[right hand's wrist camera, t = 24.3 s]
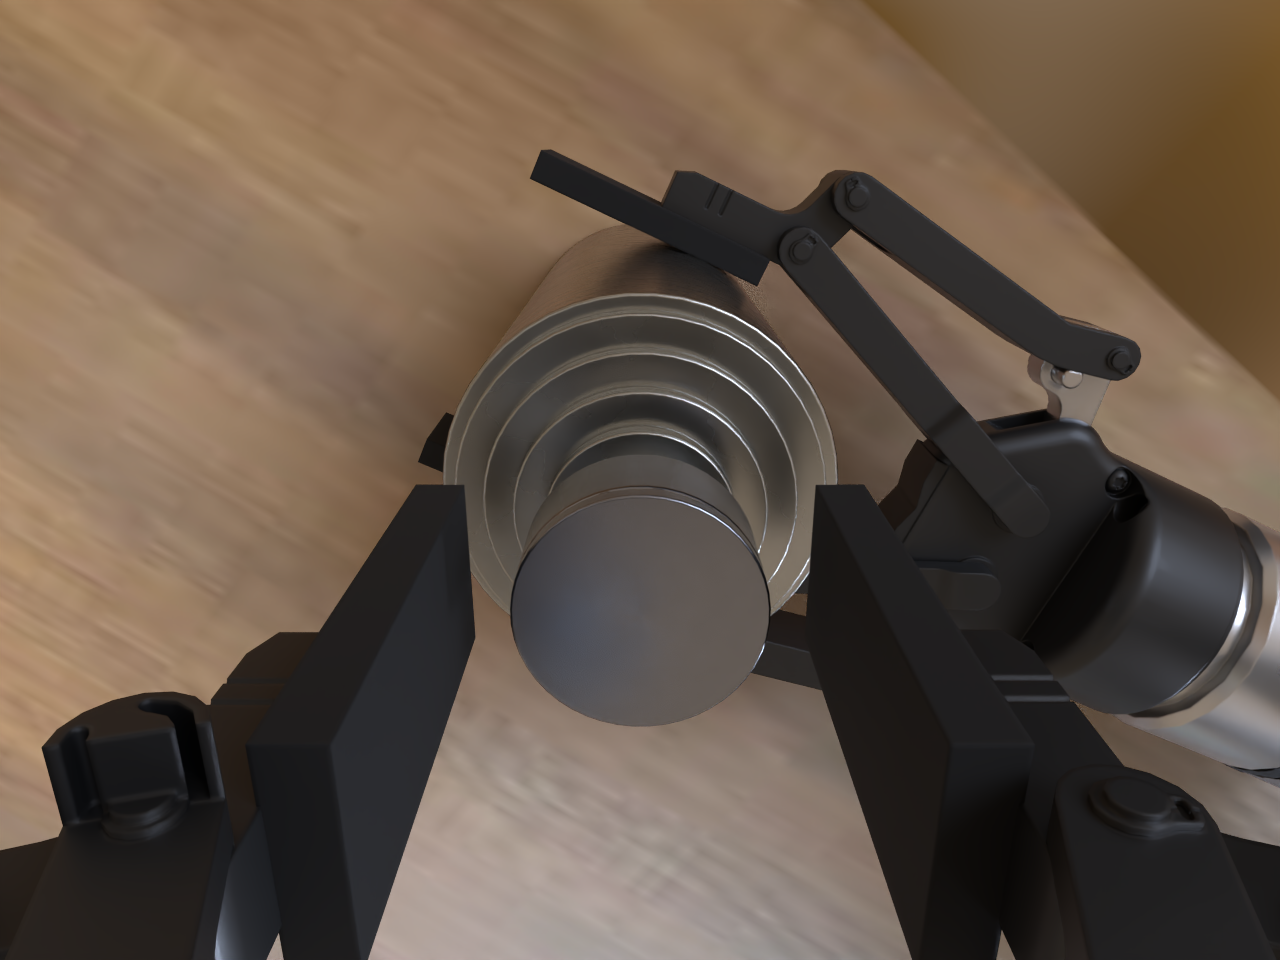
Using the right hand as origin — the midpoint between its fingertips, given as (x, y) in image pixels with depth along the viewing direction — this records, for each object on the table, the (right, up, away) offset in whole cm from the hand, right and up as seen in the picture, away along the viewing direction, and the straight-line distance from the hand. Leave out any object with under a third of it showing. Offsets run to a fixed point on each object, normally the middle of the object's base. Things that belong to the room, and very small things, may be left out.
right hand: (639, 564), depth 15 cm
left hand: (-4, +6, +11) cm, 13 cm away
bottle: (0, +6, +17) cm, 19 cm away
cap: (0, 0, -1) cm, 1 cm away
